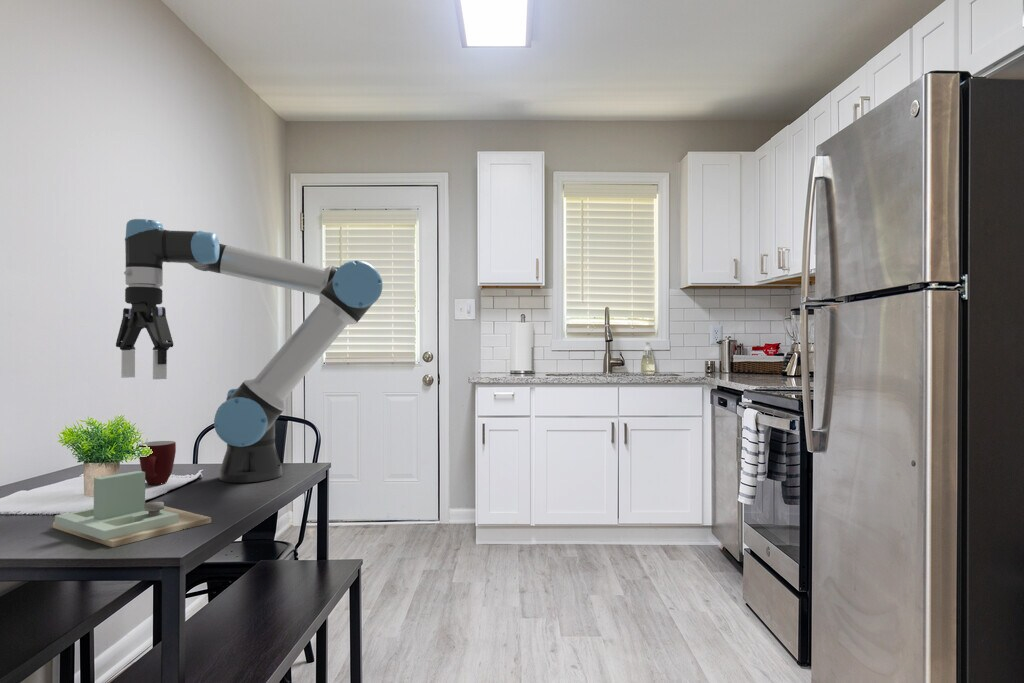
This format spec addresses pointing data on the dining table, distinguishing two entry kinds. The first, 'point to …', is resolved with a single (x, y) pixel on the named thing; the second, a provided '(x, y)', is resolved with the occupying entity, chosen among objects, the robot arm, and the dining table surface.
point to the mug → (158, 461)
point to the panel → (114, 523)
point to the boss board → (154, 510)
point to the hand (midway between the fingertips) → (143, 378)
